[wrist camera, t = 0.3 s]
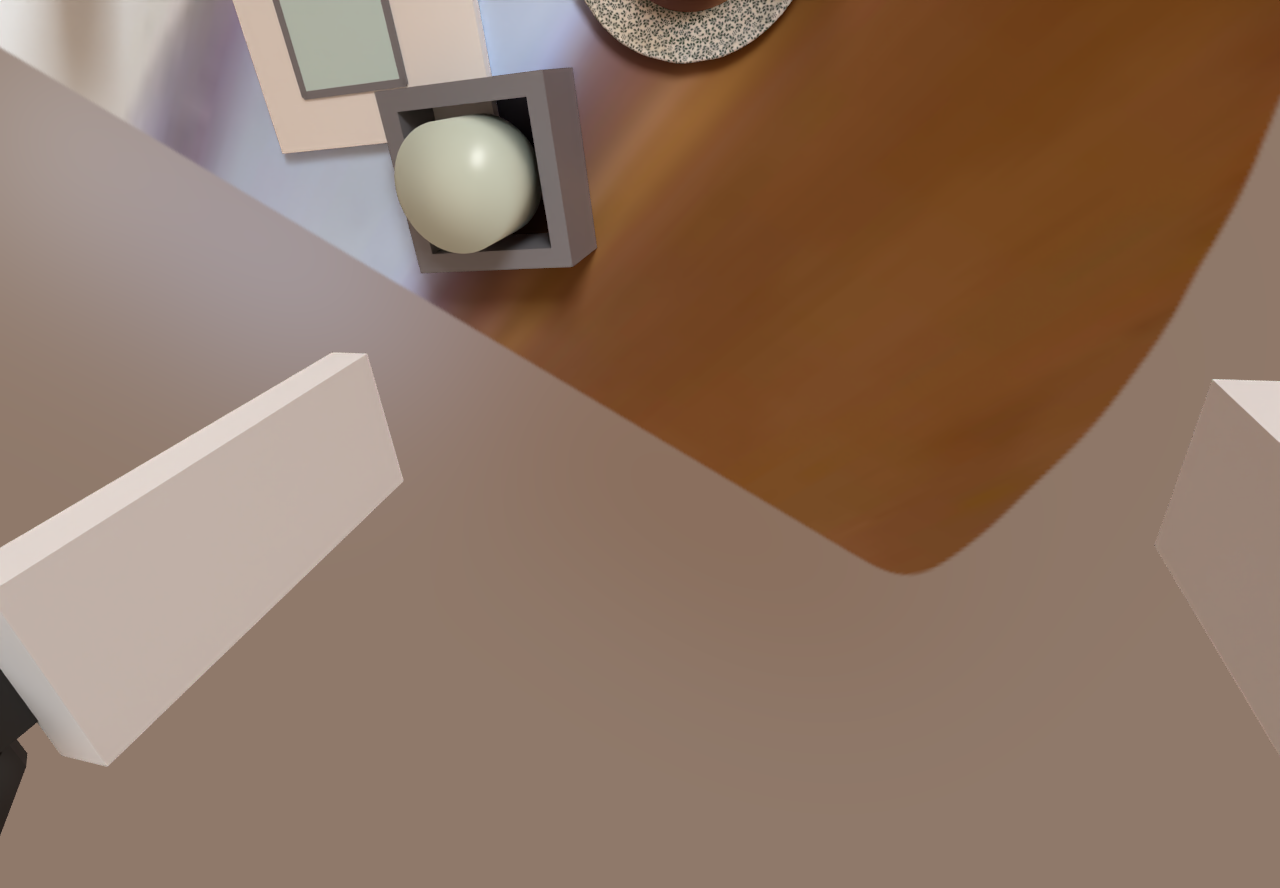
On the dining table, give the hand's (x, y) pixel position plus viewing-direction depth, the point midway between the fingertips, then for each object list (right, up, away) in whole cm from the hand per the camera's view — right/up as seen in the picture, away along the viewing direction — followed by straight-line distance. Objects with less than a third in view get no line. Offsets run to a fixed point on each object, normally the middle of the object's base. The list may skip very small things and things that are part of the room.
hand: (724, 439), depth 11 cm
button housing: (-9, +15, +27) cm, 32 cm away
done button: (-9, +14, +25) cm, 30 cm away
